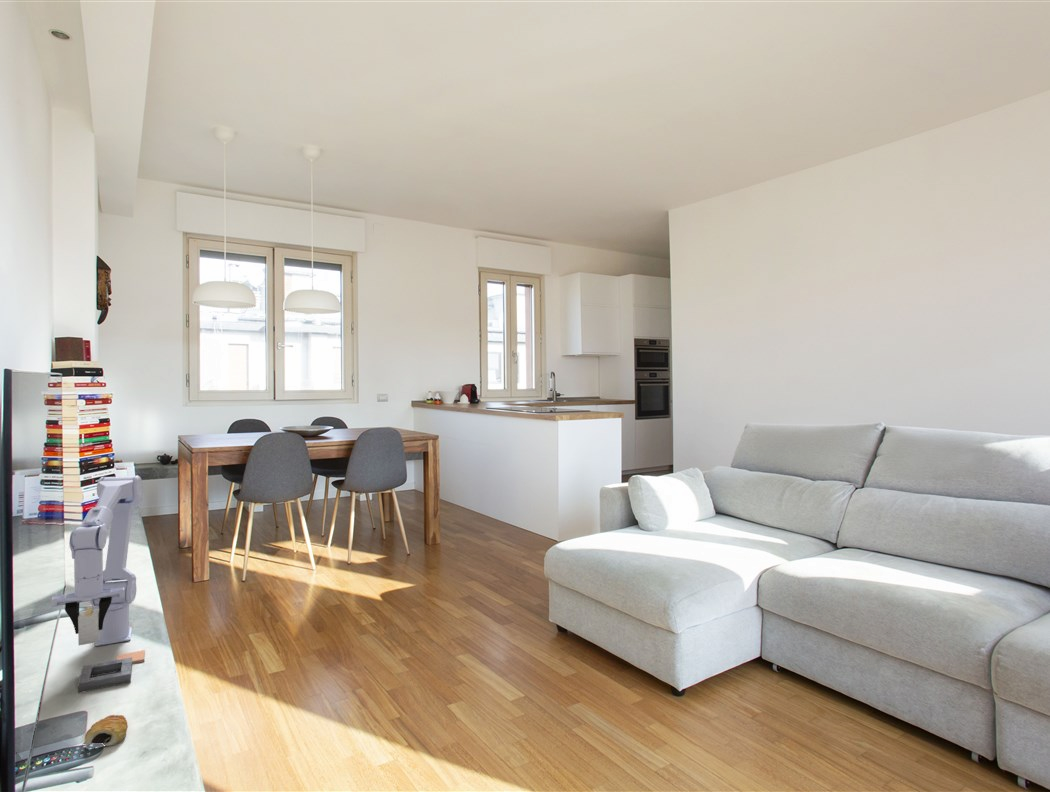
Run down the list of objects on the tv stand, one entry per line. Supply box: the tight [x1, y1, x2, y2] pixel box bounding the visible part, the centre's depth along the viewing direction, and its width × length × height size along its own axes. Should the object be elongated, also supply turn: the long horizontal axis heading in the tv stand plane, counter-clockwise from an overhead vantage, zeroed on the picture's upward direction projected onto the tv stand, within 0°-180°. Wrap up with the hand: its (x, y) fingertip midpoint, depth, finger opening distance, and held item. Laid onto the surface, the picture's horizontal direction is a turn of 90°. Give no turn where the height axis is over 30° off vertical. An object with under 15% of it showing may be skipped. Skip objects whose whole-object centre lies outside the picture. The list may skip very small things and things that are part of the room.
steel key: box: [77, 605, 100, 646], centre depth 152 cm, size 5×4×8 cm
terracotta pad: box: [115, 649, 146, 665], centre depth 157 cm, size 6×6×1 cm
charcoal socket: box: [77, 657, 133, 694], centre depth 147 cm, size 10×10×2 cm
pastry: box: [82, 714, 129, 747], centre depth 124 cm, size 9×7×4 cm
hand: (89, 630), depth 153 cm, fingers closed on steel key, 4 cm apart
